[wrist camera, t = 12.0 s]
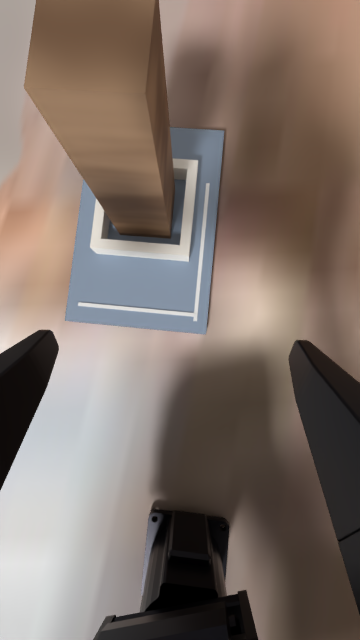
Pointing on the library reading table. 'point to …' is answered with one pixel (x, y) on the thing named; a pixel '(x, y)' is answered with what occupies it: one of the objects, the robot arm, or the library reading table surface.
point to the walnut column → (108, 104)
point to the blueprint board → (152, 251)
